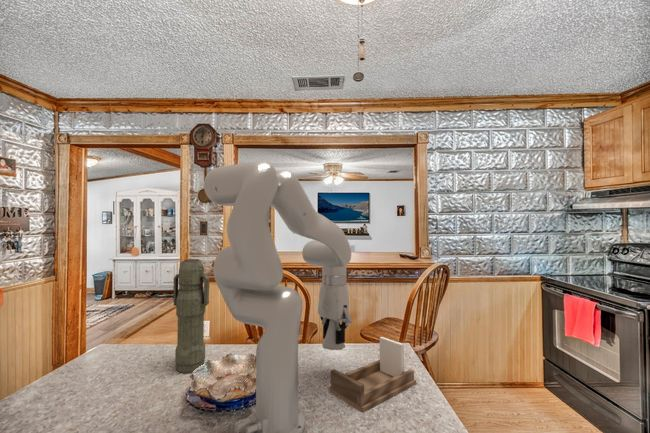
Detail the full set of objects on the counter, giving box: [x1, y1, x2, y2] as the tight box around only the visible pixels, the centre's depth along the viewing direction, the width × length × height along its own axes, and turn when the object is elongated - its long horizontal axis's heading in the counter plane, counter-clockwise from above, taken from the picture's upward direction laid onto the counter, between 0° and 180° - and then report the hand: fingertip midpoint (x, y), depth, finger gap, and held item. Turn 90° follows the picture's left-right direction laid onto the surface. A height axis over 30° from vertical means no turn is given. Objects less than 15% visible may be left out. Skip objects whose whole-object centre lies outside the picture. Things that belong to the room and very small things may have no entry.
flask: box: [321, 320, 346, 351], centre depth 96 cm, size 7×7×10 cm
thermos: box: [172, 258, 210, 375], centre depth 102 cm, size 9×12×35 cm
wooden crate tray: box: [328, 359, 417, 413], centre depth 88 cm, size 22×13×6 cm, turn 129°
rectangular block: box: [378, 336, 405, 377], centre depth 93 cm, size 1×8×10 cm, turn 39°
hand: (333, 340), depth 96 cm, fingers closed on flask, 5 cm apart
